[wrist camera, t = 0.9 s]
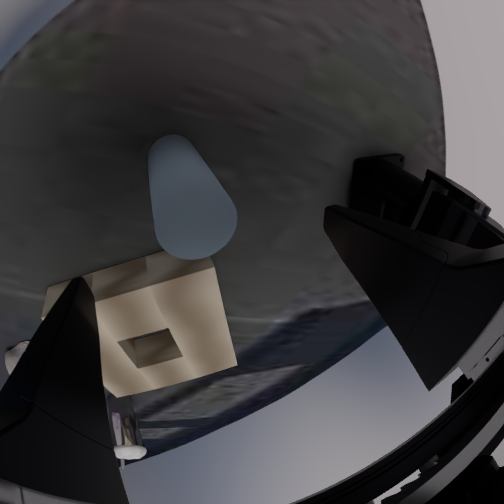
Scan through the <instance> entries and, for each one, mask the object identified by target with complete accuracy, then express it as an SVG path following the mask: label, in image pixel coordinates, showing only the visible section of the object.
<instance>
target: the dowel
mask: <svg viewBox="0 0 504 504" xmlns="http://www.w3.org/2000/svg"><path fill="white" fill-rule="evenodd" d="M148 172H149V184H150V194H151V203H152V212H153V220H154V228H155V234H156V237H157V240H158V242H159V244H160V245H161V246H162V248H163V249H164V250H165V251H166V252H168V253H169V254H171V255H173V256H175V257H178V258H181V259H188V260H195V259H201V258H205V257H208V256H210V255H213V254H214V253H216V252H218V251H219V250H221V249H222V248H223V247H224V246H225V245H226V244H227V243H228V242H229V241H230V239H231V238H232V236H233V234H234V232H235V229H236V226H237V210H236V207H235V205H234V203H233V201H232V200H231V198H230V197H229V195H228V194H227V193H226V191H225V190H224V188H223V187H222V185H221V184H220V183H219V181H218V180H217V178H216V177H215V176H214V174H213V173H212V171H211V170H210V169H209V167H208V166H207V164H206V163H205V162H204V160H203V159H202V157H201V156H200V155H199V153H198V152H197V150H196V149H195V148H194V146H193V145H192V143H191V142H190V141H189V140H188V139H187V138H185V137H183V136H180V135H175V134H172V135H166V136H163V137H161V138H159V139H158V140H157V141H156V142H155V143H154V144H153V145H152V146H151V148H150V150H149V153H148Z"/></svg>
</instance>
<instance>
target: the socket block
mask: <svg viewBox="0 0 504 504" xmlns="http://www.w3.org/2000/svg"><path fill="white" fill-rule="evenodd" d="M80 277H83V278H84V279H85V281H86V282H87V284H88V286H89V287H90V289H91V291H92V293H93V295H94V298H95V306H96V315H97V322H98V329H99V337H100V352H101V365H102V376H103V385H104V386H105V387H106V388H107V389H108V390H109V391H110V392H111V393H112V394H114V395H115V396H116V397H122V396H127V395H132V394H136V393H140V392H145V391H149V390H153V389H157V388H161V387H165V386H169V385H173V384H177V383H180V382H184V381H187V380H191V379H194V378H198V377H201V376H205V375H208V374H211V373H214V372H217V371H221V370H224V369H227V368H230V367H233V366H236V365H237V361H236V357H235V353H234V349H233V345H232V341H231V337H230V333H229V329H228V325H227V320H226V316H225V312H224V307H223V303H222V299H221V294H220V290H219V285H218V281H217V276H216V272H215V267H214V265H213V262H212V260H211V257H210V256H208V257H205V258H201V259H195V260H188V259H181V258H178V257H175V256H173V255H171V254H169V253H168V252H166V251H162V252H158V253H155V254H151V255H148V256H145V257H141V258H138V259H135V260H132V261H128V262H125V263H122V264H118V265H115V266H112V267H109V268H106V269H102V270H99V271H96V272H93V273H90V274H87V275H83V276H80ZM71 280H72V279H71ZM71 280H68V281H65V282H62V283H59V284H56V285H53V286H50V287H48V290H47V294H46V298H45V302H44V307H43V312H42V317H41V318H42V320H44V318H45V317H46V315H47V314H48V312H49V311H50V309H51V308H52V306H53V305H54V304H55V302H56V301H57V299H58V298H59V296H60V295H61V294H62V292H63V291H64V289H65V288H66V287H67V285H68V284H69V283H70V281H71ZM165 328H169V330H168V331H165V332H161V333H158V334H154V335H150V336H147V337H143V338H139V339H136V340H134V339H133V337H137V336H140V335H144V334H148V333H151V332H155V331H158V330H162V329H165Z"/></svg>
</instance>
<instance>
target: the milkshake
mask: <svg viewBox="0 0 504 504" xmlns="http://www.w3.org/2000/svg"><path fill="white" fill-rule="evenodd" d="M108 408H109V426H110V431H111V436H112V441H113V446H114V451H115V454H116V457H117V458H120V459H121V469H124V459H128V460H130V459H140V458H141V457H142V456H144V455H145V454H146V448H145V445H144V443H143V440H142V437H141V434H140V431H139V428H138V424H137V420H136V417H135V413H134V409H133V405H132V401H131V398H130V396H129V395H127V396H122V397H116V396H115V395H114V394H111V395H110V396H109V397H108Z"/></svg>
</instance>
